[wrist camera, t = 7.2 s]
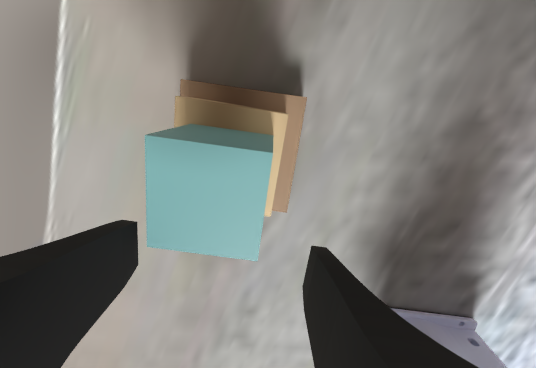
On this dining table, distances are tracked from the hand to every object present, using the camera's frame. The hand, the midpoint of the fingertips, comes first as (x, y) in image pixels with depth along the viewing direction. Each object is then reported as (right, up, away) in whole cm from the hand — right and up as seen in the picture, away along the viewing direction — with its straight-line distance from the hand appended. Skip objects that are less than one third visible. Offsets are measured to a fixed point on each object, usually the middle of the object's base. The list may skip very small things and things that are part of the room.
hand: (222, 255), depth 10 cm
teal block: (0, +4, +4) cm, 5 cm away
